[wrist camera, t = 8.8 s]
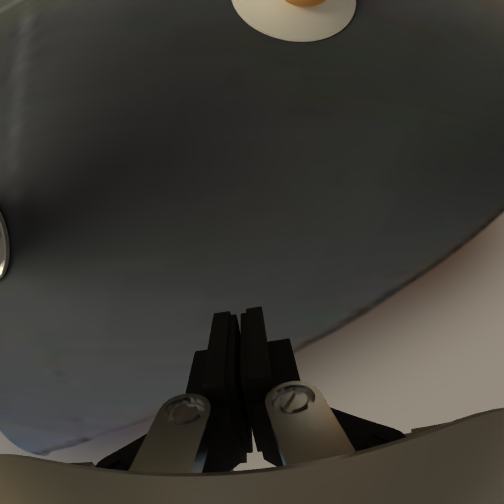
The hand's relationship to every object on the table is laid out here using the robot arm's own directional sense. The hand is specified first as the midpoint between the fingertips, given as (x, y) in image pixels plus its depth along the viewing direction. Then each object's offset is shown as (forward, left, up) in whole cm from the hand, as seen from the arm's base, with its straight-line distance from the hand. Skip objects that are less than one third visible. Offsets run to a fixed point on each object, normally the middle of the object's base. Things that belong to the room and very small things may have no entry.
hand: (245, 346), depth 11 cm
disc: (+8, +24, -21) cm, 33 cm away
